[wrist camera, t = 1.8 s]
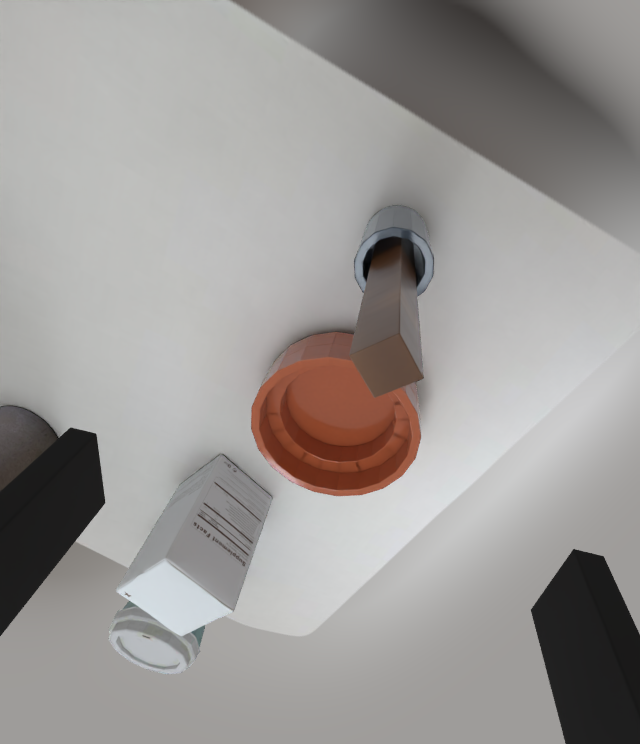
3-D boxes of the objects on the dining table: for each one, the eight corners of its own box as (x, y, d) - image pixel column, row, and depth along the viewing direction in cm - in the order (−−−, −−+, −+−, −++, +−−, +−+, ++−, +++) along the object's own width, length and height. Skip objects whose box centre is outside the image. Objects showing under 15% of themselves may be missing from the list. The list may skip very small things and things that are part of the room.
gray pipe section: (410, 192, 35) (412, 211, 27) (437, 251, 37) (446, 284, 29) (353, 224, 37) (340, 251, 29) (381, 279, 39) (376, 317, 31)
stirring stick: (401, 221, 35) (399, 333, 17) (413, 245, 36) (424, 378, 17) (377, 234, 36) (348, 355, 17) (389, 258, 37) (374, 398, 18)
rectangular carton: (229, 526, 58) (180, 640, 45) (178, 484, 56) (111, 591, 43) (275, 498, 54) (235, 614, 41) (222, 451, 52) (163, 559, 39)
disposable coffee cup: (232, 579, 64) (189, 694, 51) (162, 557, 64) (101, 666, 51) (241, 531, 58) (195, 647, 46) (165, 509, 59) (97, 617, 46)
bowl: (373, 301, 40) (369, 328, 35) (443, 429, 45) (448, 468, 40) (239, 367, 46) (219, 397, 41) (315, 473, 51) (305, 512, 46)
